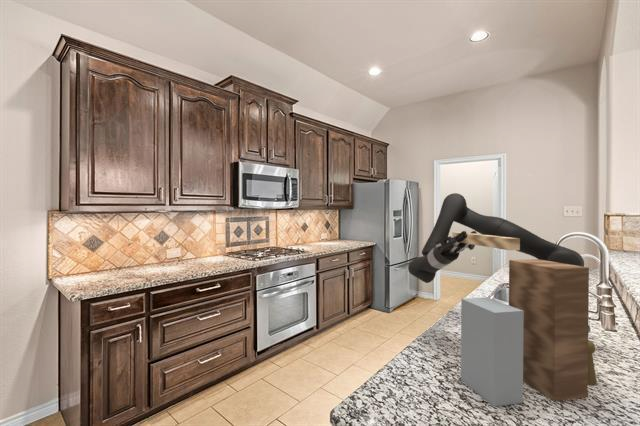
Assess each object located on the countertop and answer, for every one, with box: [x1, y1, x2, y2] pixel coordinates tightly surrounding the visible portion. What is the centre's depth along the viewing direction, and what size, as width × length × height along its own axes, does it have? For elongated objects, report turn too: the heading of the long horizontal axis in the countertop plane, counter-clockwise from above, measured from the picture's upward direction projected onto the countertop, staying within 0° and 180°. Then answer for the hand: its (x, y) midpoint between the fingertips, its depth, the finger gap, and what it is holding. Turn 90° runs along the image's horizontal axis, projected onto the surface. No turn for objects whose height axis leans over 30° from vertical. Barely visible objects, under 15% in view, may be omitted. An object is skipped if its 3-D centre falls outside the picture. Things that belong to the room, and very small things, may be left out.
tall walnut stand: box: [508, 258, 590, 402], centre depth 83 cm, size 14×10×32 cm
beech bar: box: [451, 231, 520, 251], centre depth 91 cm, size 24×3×3 cm, turn 11°
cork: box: [588, 339, 598, 386], centre depth 85 cm, size 6×6×11 cm
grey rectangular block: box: [460, 297, 524, 408], centre depth 79 cm, size 12×8×22 cm, turn 12°
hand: (470, 233), depth 96 cm, fingers closed on beech bar, 3 cm apart
